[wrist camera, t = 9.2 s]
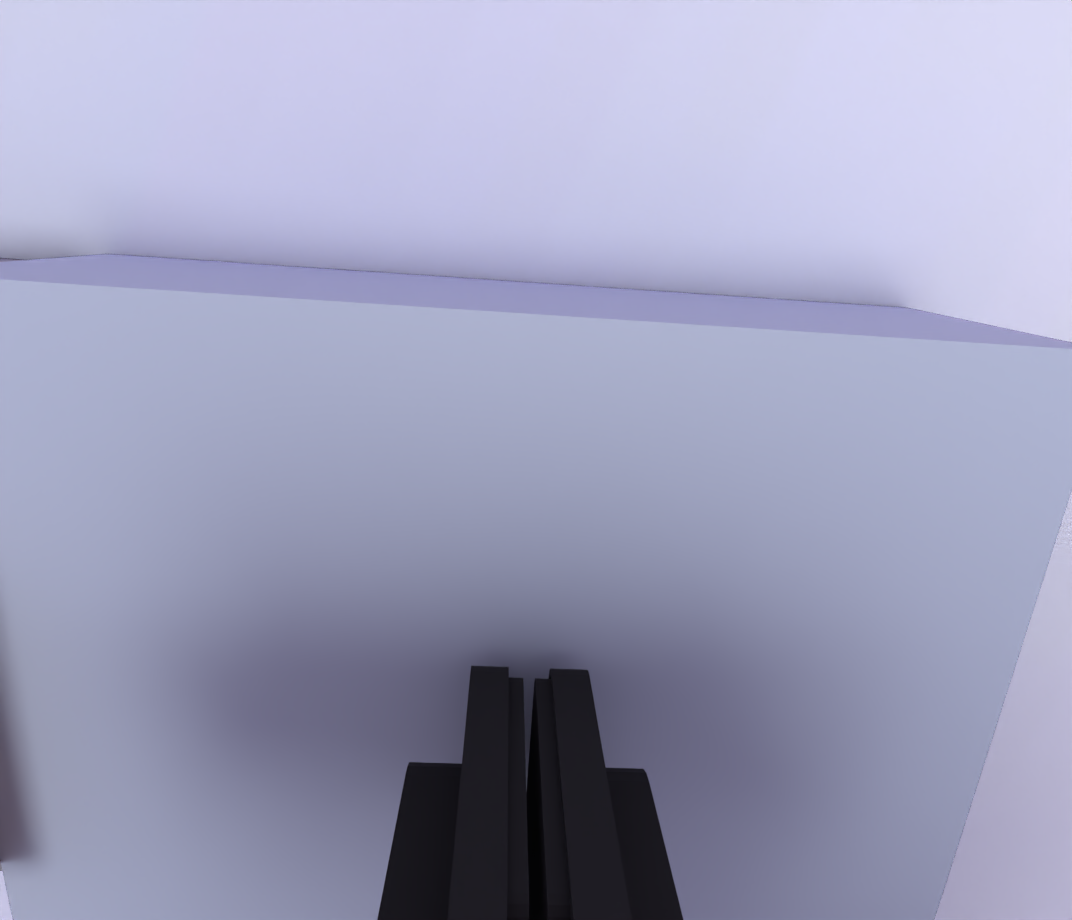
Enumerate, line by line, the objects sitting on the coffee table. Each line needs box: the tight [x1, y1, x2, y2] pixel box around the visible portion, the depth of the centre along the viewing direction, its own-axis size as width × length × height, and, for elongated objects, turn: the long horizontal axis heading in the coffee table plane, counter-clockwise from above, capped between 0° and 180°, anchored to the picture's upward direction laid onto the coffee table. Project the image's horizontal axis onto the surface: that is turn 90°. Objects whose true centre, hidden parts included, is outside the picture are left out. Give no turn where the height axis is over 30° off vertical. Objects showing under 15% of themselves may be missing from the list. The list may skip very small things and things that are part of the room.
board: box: [0, 254, 1072, 920], centre depth 13 cm, size 15×12×5 cm
